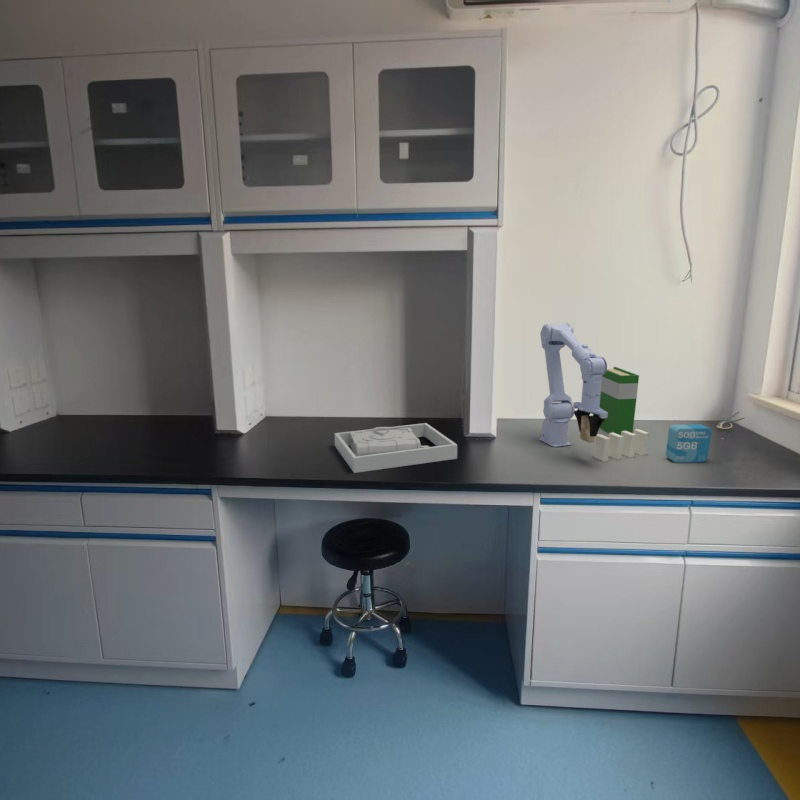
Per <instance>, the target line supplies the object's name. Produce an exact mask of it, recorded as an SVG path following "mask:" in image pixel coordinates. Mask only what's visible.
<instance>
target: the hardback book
mask: <svg viewBox="0 0 800 800" xmlns="http://www.w3.org/2000/svg"><path fill="white" fill-rule="evenodd" d="M639 379H640V374H636V373H633V372H631V371H628V370H626V369H623V368H619V367H617V366H613V368H607V371H606V373H605V374H603V375H602V384H601V395H600V406H599V407H600V408H601V409H603V410H604V411H606V412H608V416H607V418H606V419H605V420H604V421H603V423H602V424H601V426H600V428H599V429H600V430H602V431H603V432H606V433H607V434H609V433H616V434H618V435H621V431H628V432H631V433H634V426H635V425H634V424H635V418H636V417H635V414H636V406H637V396H638V388H639Z"/></svg>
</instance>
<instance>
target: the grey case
mask: <svg viewBox="0 0 800 800" xmlns="http://www.w3.org/2000/svg"><path fill="white" fill-rule="evenodd" d="M388 427H389V426H377V427H373V428H372V429H373V431H365V432H362V431H359V430H352V432H350V431H349V432H350V439H351V440H353V442H351V443H350V444H351V445H350V449H351V450H352V452H353V453H354V454H355V455H356V456H364V455H372V454H380V453H388V452H395V451H403V450H411V449H419V448H427V447H430V446H429V445H428V444H427V445H422V444H421V441H420V439H419V437H416V436H415V435H414V433H413V431H412V429H411V428H400V429H396V430H389V428H388Z"/></svg>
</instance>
